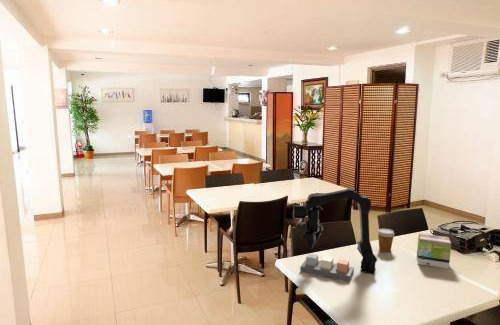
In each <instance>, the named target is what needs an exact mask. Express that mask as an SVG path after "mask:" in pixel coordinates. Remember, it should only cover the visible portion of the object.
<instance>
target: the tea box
mask: <svg viewBox="0 0 500 325" xmlns="http://www.w3.org/2000/svg"><path fill="white" fill-rule="evenodd" d="M417 240H418V241H417V247H416V248H417V249H416V261H417V265H422V266H429V267H434V268H440V269H444V270H445V269H446V270H449V268H450V267H449V266H450V262H451V261H450V260H451V252H452V250H451V249H452V242H451V240H450V237H449V236H442V235H441V236H440V235H433V234H424V233H418V238H417Z"/></svg>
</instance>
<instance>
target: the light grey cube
mask: <svg viewBox="0 0 500 325" xmlns="http://www.w3.org/2000/svg"><path fill="white" fill-rule="evenodd" d="M305 260H306V265H307V266H312V267H316V266H317V265H318V261H319V254H314V253H308V254H307V255H306V257H305Z"/></svg>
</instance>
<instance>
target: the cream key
mask: <svg viewBox="0 0 500 325" xmlns="http://www.w3.org/2000/svg"><path fill="white" fill-rule="evenodd" d="M320 261H321V268H323V269H328V270H332V268H333V263H334V257H331V256H330V257H329V256H327V255H326V256H325V255H324V256H323V257H322V258H321V260H320Z"/></svg>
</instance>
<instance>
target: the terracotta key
mask: <svg viewBox="0 0 500 325" xmlns="http://www.w3.org/2000/svg"><path fill="white" fill-rule="evenodd" d="M336 264H337V271H338V272H343V273H348V271H349V266H350V261H349V260H346V259H342V258H339V259H338V260H337V262H336Z"/></svg>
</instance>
